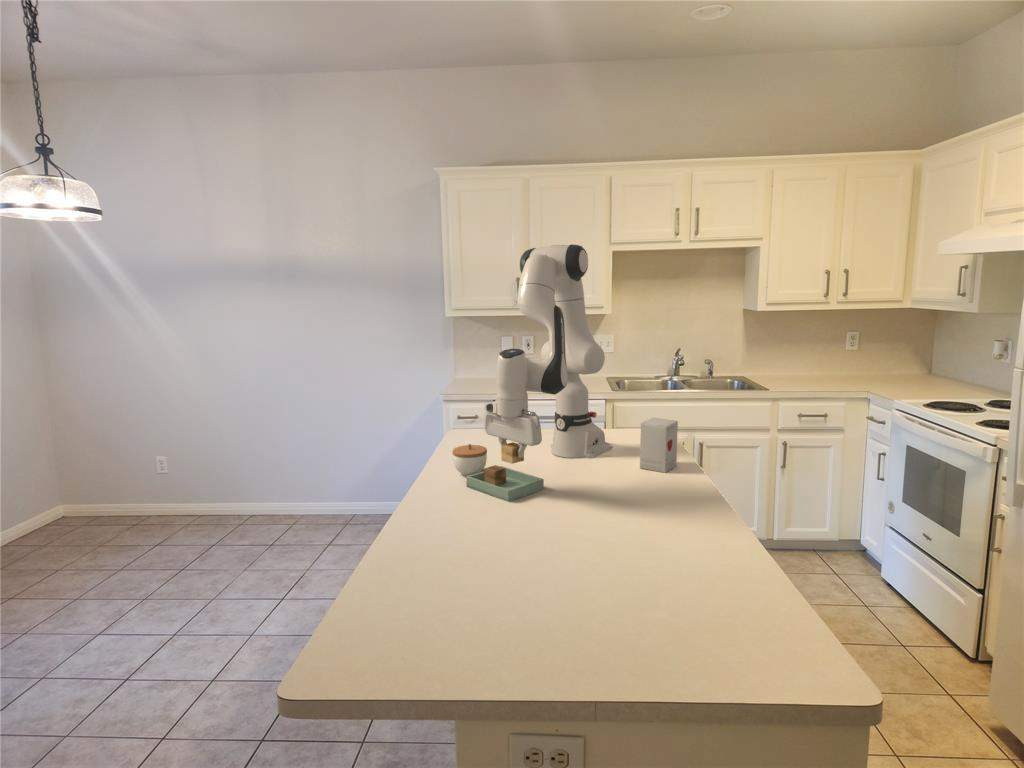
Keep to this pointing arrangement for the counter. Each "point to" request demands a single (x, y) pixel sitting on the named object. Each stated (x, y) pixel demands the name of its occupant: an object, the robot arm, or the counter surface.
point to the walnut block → (495, 475)
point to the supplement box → (658, 444)
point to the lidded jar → (469, 459)
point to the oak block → (510, 453)
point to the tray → (507, 485)
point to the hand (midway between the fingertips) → (512, 455)
